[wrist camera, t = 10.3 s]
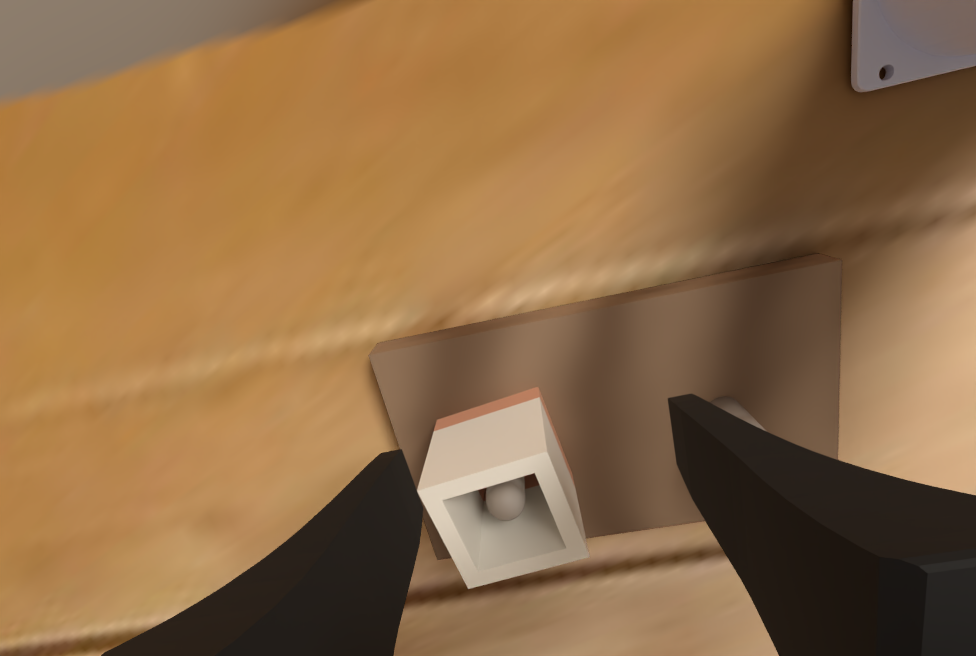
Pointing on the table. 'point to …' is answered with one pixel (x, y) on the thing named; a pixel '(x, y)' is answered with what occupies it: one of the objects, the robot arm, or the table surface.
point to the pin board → (634, 381)
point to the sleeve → (496, 459)
